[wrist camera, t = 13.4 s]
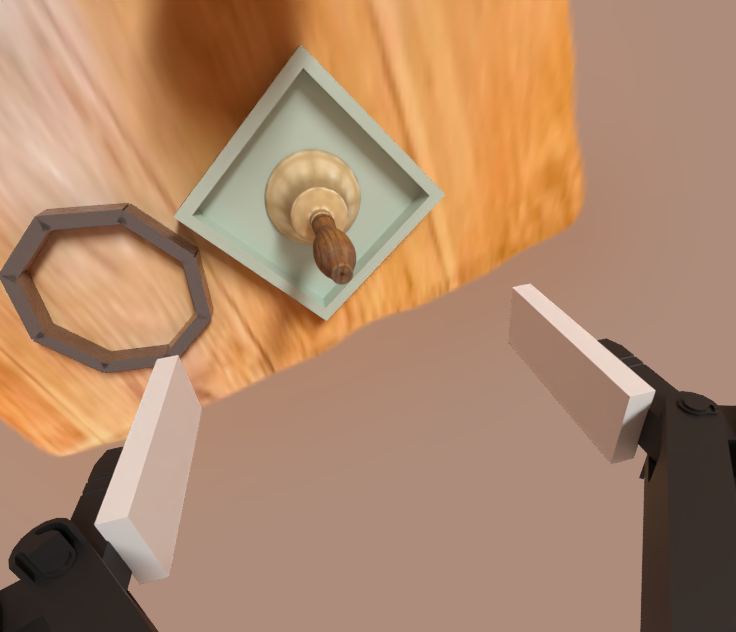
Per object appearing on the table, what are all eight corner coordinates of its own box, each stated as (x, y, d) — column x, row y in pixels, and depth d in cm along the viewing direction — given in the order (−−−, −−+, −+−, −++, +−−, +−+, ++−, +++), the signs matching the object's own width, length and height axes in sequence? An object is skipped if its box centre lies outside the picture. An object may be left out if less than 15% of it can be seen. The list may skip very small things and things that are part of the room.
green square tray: (180, 206, 36) (173, 217, 34) (298, 46, 32) (301, 44, 30) (323, 306, 44) (326, 321, 41) (434, 186, 40) (445, 194, 37)
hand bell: (333, 129, 35) (372, 171, 21) (375, 217, 39) (430, 297, 26) (245, 179, 35) (228, 250, 22) (296, 259, 40) (309, 360, 26)
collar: (-15, 303, 37) (-27, 313, 36) (73, 165, 33) (63, 170, 32) (153, 382, 45) (148, 393, 43) (241, 276, 41) (240, 284, 39)
